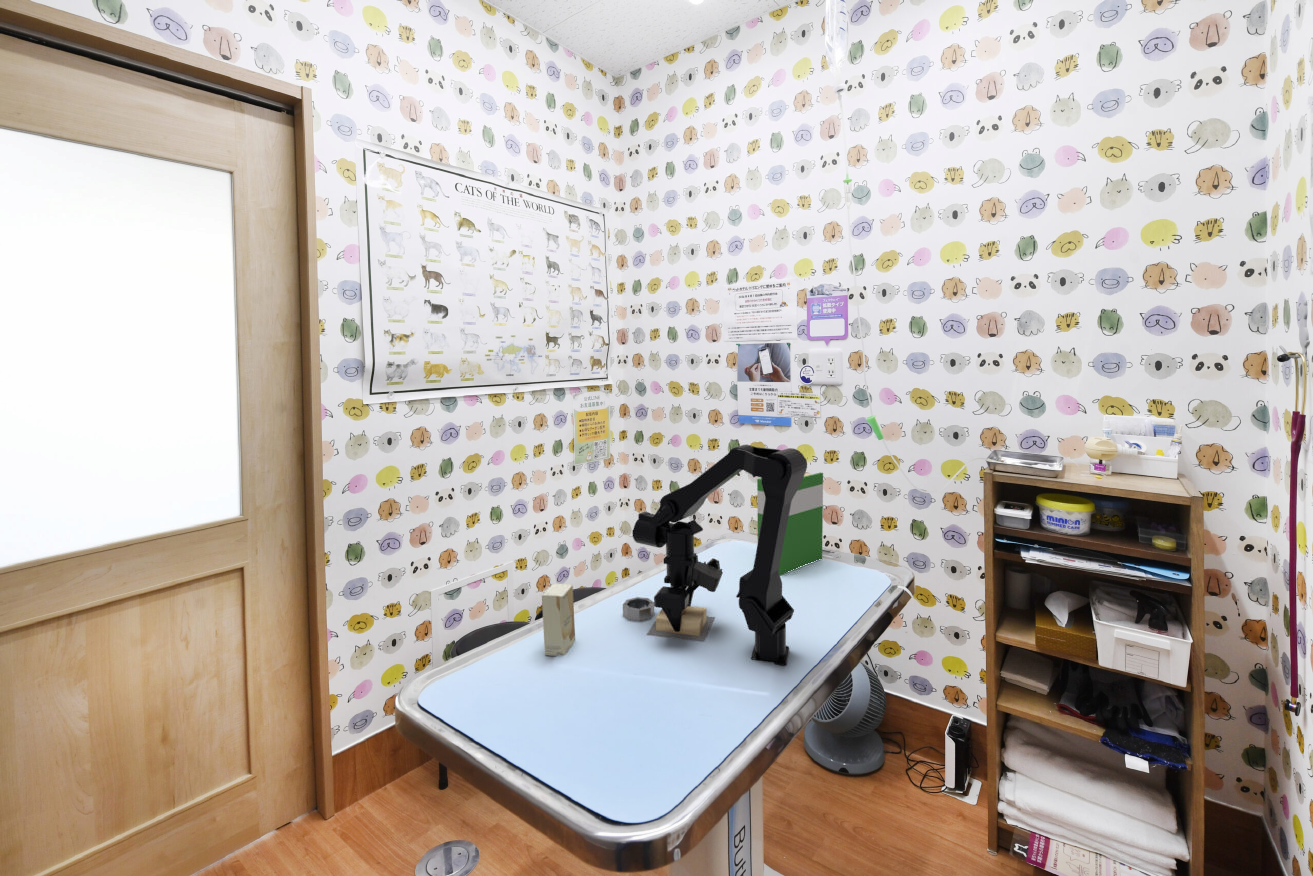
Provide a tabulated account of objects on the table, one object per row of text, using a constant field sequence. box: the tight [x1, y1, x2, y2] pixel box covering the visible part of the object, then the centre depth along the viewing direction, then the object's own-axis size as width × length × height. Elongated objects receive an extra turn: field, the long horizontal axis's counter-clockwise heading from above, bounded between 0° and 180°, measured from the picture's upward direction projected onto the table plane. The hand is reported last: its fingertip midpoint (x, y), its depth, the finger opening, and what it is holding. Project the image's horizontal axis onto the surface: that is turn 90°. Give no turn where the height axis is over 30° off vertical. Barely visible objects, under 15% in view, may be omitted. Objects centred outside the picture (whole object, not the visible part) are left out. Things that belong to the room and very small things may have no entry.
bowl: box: [622, 596, 655, 623], centre depth 129 cm, size 6×6×3 cm
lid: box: [655, 606, 707, 636], centre depth 123 cm, size 7×9×3 cm
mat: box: [646, 615, 716, 642], centre depth 123 cm, size 11×12×1 cm
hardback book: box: [756, 472, 824, 576], centre depth 157 cm, size 18×7×24 cm, turn 128°
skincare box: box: [541, 583, 576, 657], centre depth 115 cm, size 6×4×12 cm
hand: (681, 623), depth 123 cm, fingers closed on lid, 7 cm apart
